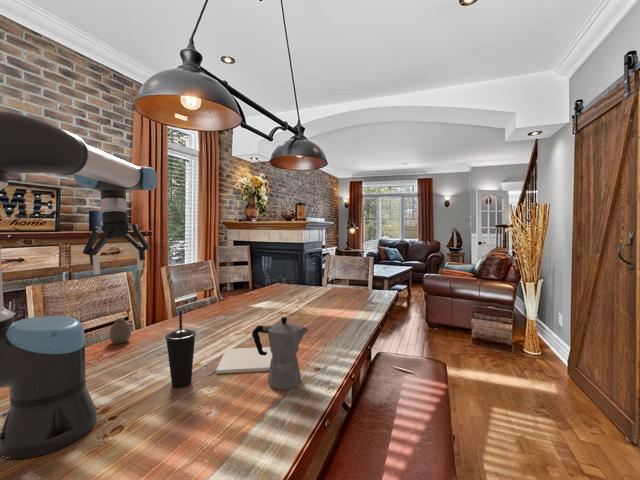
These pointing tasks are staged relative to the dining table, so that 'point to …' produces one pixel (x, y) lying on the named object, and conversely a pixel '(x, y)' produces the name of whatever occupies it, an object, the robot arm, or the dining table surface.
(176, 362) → the drinking cup
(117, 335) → the grey rounded lump
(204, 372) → the dining table surface
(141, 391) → the dining table surface
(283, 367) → the coffeepot
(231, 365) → the tile
